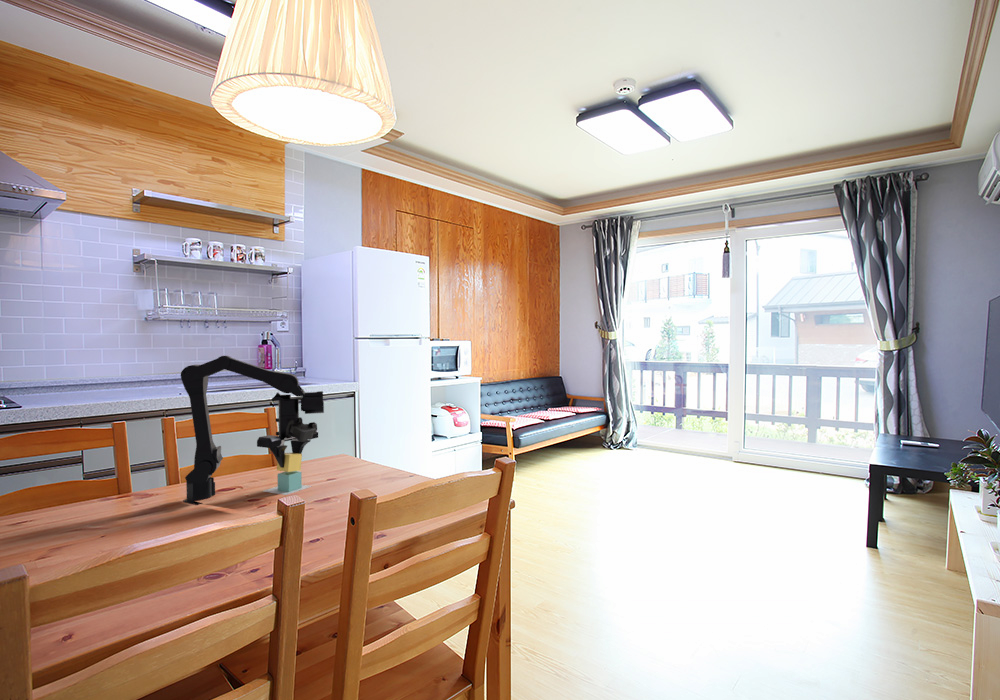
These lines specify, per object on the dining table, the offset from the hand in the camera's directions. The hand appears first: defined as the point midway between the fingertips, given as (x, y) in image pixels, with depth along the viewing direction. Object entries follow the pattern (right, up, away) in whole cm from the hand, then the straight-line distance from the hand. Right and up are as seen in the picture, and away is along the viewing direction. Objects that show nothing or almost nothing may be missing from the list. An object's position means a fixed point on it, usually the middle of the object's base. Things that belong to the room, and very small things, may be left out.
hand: (289, 465), depth 155 cm
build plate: (-1, -8, +1) cm, 8 cm away
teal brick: (0, -7, 0) cm, 7 cm away
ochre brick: (0, -1, 0) cm, 1 cm away
